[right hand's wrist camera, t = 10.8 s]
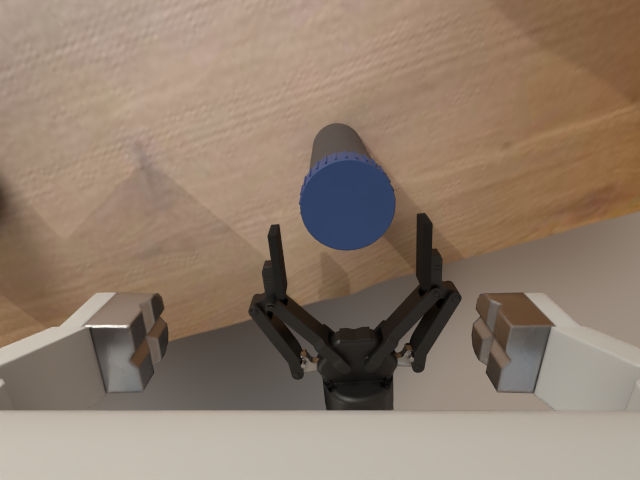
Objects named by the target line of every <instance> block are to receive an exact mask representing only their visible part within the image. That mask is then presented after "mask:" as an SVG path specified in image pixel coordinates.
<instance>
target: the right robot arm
mask: <svg viewBox="0 0 640 480" xmlns="http://www.w3.org/2000/svg"><path fill="white" fill-rule="evenodd" d="M163 310H164V305H163V300H162V297H161V296H160V295H159V294H158V293H118V292H104V293H96V294H94V295H93V296H92V297H91V298H90V299H89V300H88V301H87V302H86V303H85V304H84V305H82V306H81V307H80V308H79V309H78V310H77V311H76V312H75V313H74V314H73V315H72V316H71V317H69V318H68V319H67V320H66V321H65V322H64V323H63V324H62V325H61V326H60V327H51V328H49V329H46V330H44V331H41V332H39V333H36V334H34V335H32V336H29V337H27V338H24V339H22V340H19V341H17V342H14V343H12V344H10V345H7V346H5V347H2V348H0V480H640V348H638V347H635V346H633V345H630V344H628V343H625V342H623V341H621V340H618V339H616V338H613V337H611V336H608V335H606V334H604V333H601V332H599V331H596V330H594V329H591V328H589V327H580V326H579V325H578V324H577V323H576V322H575V321H574V320H573V319H572V318H571V317H570V316H568V315H567V314H566V313H565V312H564V311H563V310H562V309H561V308H560V307H559V306H558V305H557V304H555V303H554V302H553V301H552V300H551V299H550V298H549V297H548V296H547V295H546V294H544V293H541V292H529V293H485V294H480V295H479V297H478V300H477V304H476V310H477V312H478V313H479V315H480V317H479V318H478V319H477V320H476V321H475V322H474V323H473V329H472V345H473V349H474V352H475V354H476V356H477V358H478V360H479V361H481V362H482V363H484V364H485V365H487V369H486V374H487V375H488V377H489V379H490V381H491V382H492V384H493V386H494V387H495V389H496V391H497V392H504V393H534V395H535V396H536V397H537V398H539V399H540V400H541V401H543V402H544V403H545V404H547V405H548V406H549V407H551V408H552V409H553V410H87V409H88V408H89V407H91V406H92V405H93V404H95V403H96V402H97V401H99V400H100V399H101V398H103V397H104V396H105V395H106V393H134V392H143V391H144V389H145V387H146V386H147V384H148V382H149V381H150V379H151V377H152V375H153V374H154V369H153V365H155V364H156V363H158V362H159V361H161V360H162V358H163V356H164V354H165V352H166V348H167V344H168V328H167V323H166V322H165V321H164V320H163V319H162V318H161V317H160V315H161V313H162V312H163Z"/></svg>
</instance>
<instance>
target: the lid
mask: <svg viewBox="0 0 640 480" xmlns="http://www.w3.org/2000/svg"><path fill="white" fill-rule="evenodd" d="M390 182H391V181H390V179H389V178H388V176H387V175H386V173H385V172H384V171H383V169H382V167H381V166H380V165H379V166H378V165H377V164H376V163H375V161H374V159H372V160H371V159H370V158H368V157H366V155H365V154H363V155H362V154H358V153H356V152H355V151H354V152H346V151H344V152H339V153H336V152H334V154H332V155H329V156H325V158H323V159H322V160H320V161H319V162H318V161H317V162H316V164H315V165H314V166H313V168H310V170H309V173H308V175H307V177H306V176H305V179H304V184H303V185H302V188H301V193H300V195H301V197H300V202H299V205H300V210H301V212H300V214H301V216H302V220H303V222H304V225H305V227H306V228H307V230H308V231H309V233H310V234H311V235H312V236H313V237H314V238H315V239H316V240H317V241H319V242H320V243H322V244H324V245H325V246H328V247H330V248H334V249H338V250H355V249H360V248H363V247H366V246H368V245H370V244H372V243H373V242H375V241H376V240H378V239H379V238H380V237H381V236H382V235H383V234H384V233H385V232H386V230H387V229H388V227H389V226H390V224H391V222H392V219H393V216H394V212H395V196H394V192H393V191H394V189H393V187H392V186H391V184H390Z"/></svg>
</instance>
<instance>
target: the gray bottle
mask: <svg viewBox="0 0 640 480" xmlns="http://www.w3.org/2000/svg"><path fill="white" fill-rule="evenodd" d="M344 151H346V152H354V151H355V152H356V153H358V154H362V155H363V154H365V155H366V157H368V158H370V159H371V157H370V156H369V154H368V152H367V150H366V148H365V147H364V145H363V143H362V141H361V140H360V138H359V136H358V134H357V133H356V132H355V131H354V130H353V129H352V128H351V127H349V126H347V125H344V124H331V125H328V126H326V127H324V128H323V129H322V130H321V131H320V132H319V133H318V134H317V136H316V138H315V140H314V143H313V150H312V156H311V163H310V168H313V166H314V165H315V164H316V162H317V161H318V162H319V161H320V160H322V159H323V158H325V156H329V155H332V154H334V152H336V153H339V152H344ZM371 160H372V159H371Z"/></svg>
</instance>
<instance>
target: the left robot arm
mask: <svg viewBox="0 0 640 480" xmlns="http://www.w3.org/2000/svg"><path fill="white" fill-rule="evenodd" d="M432 226H433V223H432V222H431V221H430V219H429V218H428V216H427V215H426V214H425V213H421V214H417V248H416V276H417V279H418V281H419V283H420V284H419V285H418V287H417V288H416V289H415V290H414V291H413V292H412V293H411V294H410V295H409V296H408V297H407V298H406V299H405V301H404V302H403V303H402V304H401V305H400V306H399V307H398V308H397V309H396V310H395V311H394V312H393V313H392V315H391V316H390V317H389V318H388V319H387V320H386V321H384V320H383V321H382V322H381V323H380V324H379V325H378V326H377V327H376V328H375V329H374V330H372V329H369V327H361V328H357V329H349V328H342V329H340V331H338V332H336V333H335V332H334V331H332V330H331V329H330V328H329V327H328V326H326V325H325V324H323V325H322V324H321V323H320V322H318V321H317V320H316V319H315V318H314V317H312V316H311V315H310V314H309V313H308V312H307V311H305V310H304V309H303V308H302V307H301V306H299V305H298V304H297V303H296V302H295V301H293V300H292V299H291V298H290V297H289V296H287V295H286V289H287V279H286V271H285V264H284V256H283V249H282V241H281V234H280V226H279V224H277V225H271V227H270V230H269V233H268V242H269V249H270V256H271V260H269V261H265V263H264V267H263V270H262V276H263V283H264V289H265V293H263V294H255V295H254V296H253V298H252V301H251V304H250V308H249V315H250V316H251V317H252V318H253V320H254V321H255V322H256V323H257V325H258V326H259V327H260V328H261V330H262V331H263V332H264V333H265V335H266V336H267V337H268V338H269V340H270V341H271V342H272V343H273V345H274V346H275V347H276V348H277V350H278V351H279V352H280V353H281V355H282V356H283V357H284V358H285V360H286V361H287V362H288V364H289V367H290V370H291V374H292V377H293V378H294V379H297V380H299V379H302V378H303V375H304V373H305V372H311V371H318V372H319V373H320V374H321V375H322V377H323V386H324V395H325V404H326V410H393V372H394V370H395V369H396V367H397V366H412V369H413V371H414V372H417V373H419V372H422V371H423V370H424V367H425V361H426V355H427V354H428V352H429V350H430V349H431V347H432V346H433V344H434V342H435V341H436V339H437V338H438V336H439V335H440V333H441V331H442V330H443V328H444V327H445V325H446V323H447V322H448V320H449V319H450V317H451V315H452V314H453V312H454V311H455V309H456V307H457V306H458V304H459V303H460V301H461V295H460V294H459V292H458V290H457V289H456V287H455V286H454V284H453V282H451V281H445V282H444V281H442V258H441V255H440V253H439V252H438V250H437V249H432ZM423 315H424V316H423ZM422 316H423V317H422ZM421 317H422V319H421V321H420V322H419V324H418V326H417V327H416V329H415V331H414V333H413V334H412V336H411V339H410V343H406V344H405V347H404V348H403V350H402V351H401V352H399V353H396V352H395V350H394V349H395V348H396V347H397V345H398V342H399V340H400V339H401V338H402V337H403V336H404V335H405V334H406V333H407V332H408V331H409V330H410V329H411V328H412V326H413V325H414V324H415V323H416V322H417V321H418V320H419V319H420V318H421ZM283 321H284V322H285V323H286V324H287V325H289V326H290V327H291V328H292V329H294V330H295V331H296V332H297V333H298V334H300V335H301V336H302V337H303V338H304V339H306V340H307V341H308V342H309V343H311V344H312V345H313V346H314V348H315V350H316V351H317V352H318V353H319V354H318V355H317V357H316V358H314V357H311V356H310V355H309V353H308V352H307V350H305V349H303V350H302V348H301V346H300V344H299V342H298V341H297V339H296V338H295V337H294V336H293V334H292V333H291V332H290V330H289V329H288V328H287V326H286V325H285V324H284V322H283Z"/></svg>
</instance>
